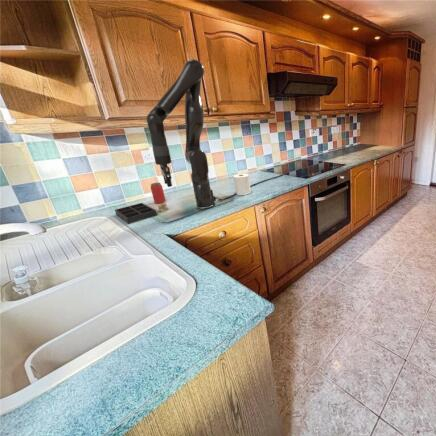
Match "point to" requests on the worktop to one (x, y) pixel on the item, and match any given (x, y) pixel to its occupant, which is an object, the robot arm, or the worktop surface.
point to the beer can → (157, 193)
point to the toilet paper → (242, 184)
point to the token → (162, 207)
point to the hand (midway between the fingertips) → (168, 185)
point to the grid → (135, 212)
